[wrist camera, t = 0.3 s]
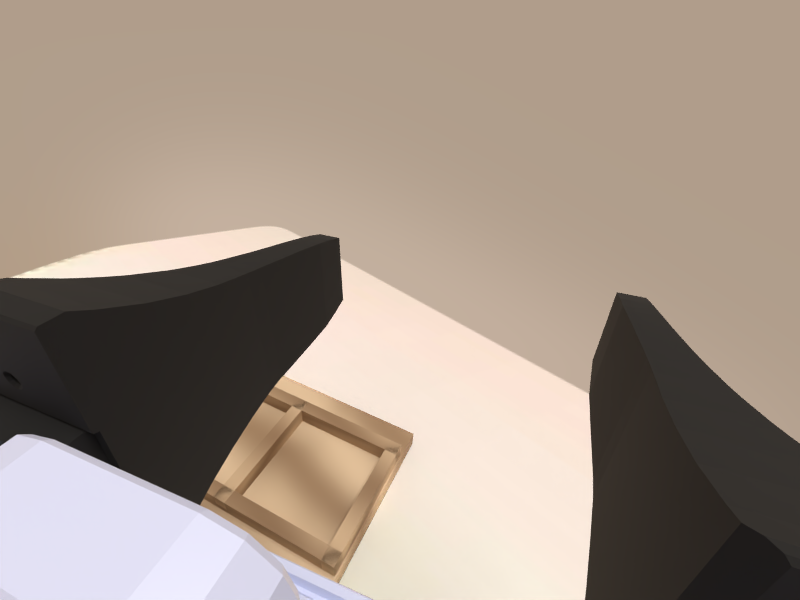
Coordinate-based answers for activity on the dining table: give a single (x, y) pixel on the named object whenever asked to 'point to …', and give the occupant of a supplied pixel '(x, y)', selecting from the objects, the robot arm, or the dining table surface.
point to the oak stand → (308, 476)
